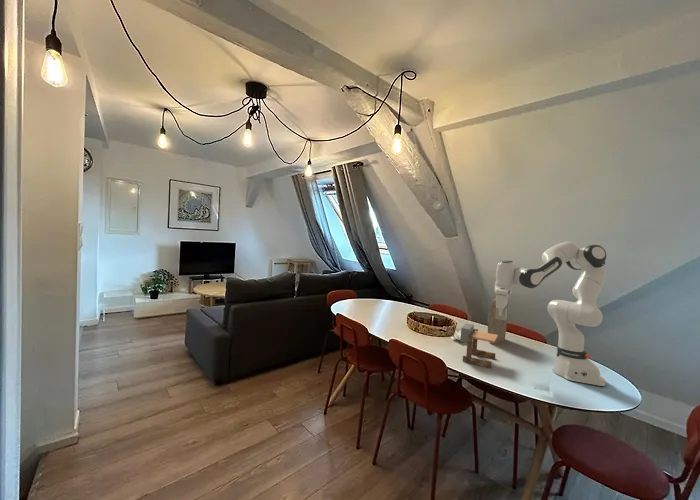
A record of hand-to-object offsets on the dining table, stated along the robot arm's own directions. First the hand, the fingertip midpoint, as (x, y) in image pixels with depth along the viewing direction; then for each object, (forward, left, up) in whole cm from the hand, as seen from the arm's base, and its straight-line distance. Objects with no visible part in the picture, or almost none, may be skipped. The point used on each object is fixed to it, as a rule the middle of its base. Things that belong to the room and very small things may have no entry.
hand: (501, 314), depth 171 cm
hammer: (+14, 0, -14) cm, 20 cm away
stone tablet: (+7, -44, -28) cm, 53 cm away
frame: (+14, 0, -28) cm, 31 cm away
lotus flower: (+26, -27, -28) cm, 47 cm away
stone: (0, 0, -2) cm, 2 cm away
